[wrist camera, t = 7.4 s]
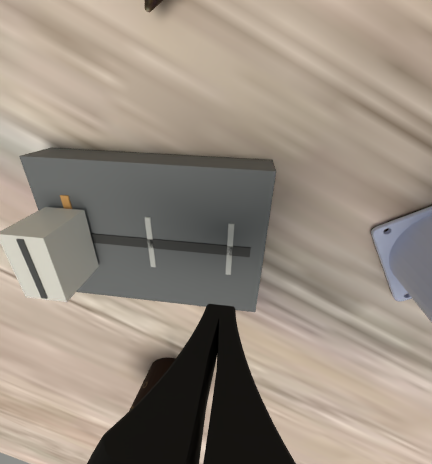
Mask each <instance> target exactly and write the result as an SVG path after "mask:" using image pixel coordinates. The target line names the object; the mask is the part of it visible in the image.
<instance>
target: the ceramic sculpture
mask: <svg viewBox="0 0 432 464" xmlns="http://www.w3.org/2000/svg"><path fill="white" fill-rule="evenodd" d="M162 1H163V0H145V10H146V11H147V12H151V11H152V10H153V9H154V8H155V7H156V6H157V5H158V4H160V3H161V2H162Z"/></svg>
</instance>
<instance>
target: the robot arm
mask: <svg viewBox="0 0 432 464" xmlns="http://www.w3.org/2000/svg"><path fill="white" fill-rule="evenodd" d="M387 228H389V229H388V231H386V232H384V230H385V229H387ZM371 235H372V238H373V241H374V244H375V247H376V250H377V253H378V255H379V258H380V261H381V264H382V267H383V270H384V273H385V276H386V278H387V281H388V284H389V287H390V290H391V293H392V296H393V297H394V299H395V300H396V301H404V300H408V299H412V298H413V300H414V301H415V302H416V303H417V305H418V306H419V307H420V308H421V310H422V311H423V312H424V313H425V315H426V316H427V317H428V318H429V320H430V321H431V322H432V206H431V207H428V208H425V209H423V210H420V211H417V212H414V213H412V214H409V215H406V216H404V217H401V218H398V219H395V220H393V221H390V222H387V223H385V224H382V225H379V226H377V227H375V228H373V229H372V231H371ZM407 293H408V294H407ZM405 294H406V295H405ZM216 357H217V372H216V379H215V387H214V394H213V401H212V408H211V415H210V422H209V429H208V436H207V443H206V450H205V456H204V463H203V464H296V463H295V462H294V460H293V458H292V456H291V455H290V453H289V451H288V450H287V448H286V446H285V444H284V442H283V441H282V439H281V437H280V435H279V433H278V431H277V429H276V427H275V426H274V424H273V422H272V420H271V418H270V416H269V413H268V411H267V409H266V407H265V405H264V403H263V401H262V399H261V397H260V394H259V392H258V390H257V387H256V385H255V382H254V380H253V377H252V375H251V372H250V369H249V367H248V364H247V361H246V358H245V355H244V351H243V348H242V344H241V341H240V337H239V333H238V328H237V322H236V314H235V307H234V306H226V305H217V304H208V305H207V307H206V309H205V312H204V314H203V316H202V318H201V320H200V322H199V324H198V326H197V327H196V329H195V331H194V332H193V334H192V336H191V337H190V339H189V341H188V342H187V344H186V345H185V347H184V348H183V350H182V351H181V352H180V354H179V355H178V357H177V358H176V359H175V361H174V362H173V363H172V365H171V366H170V367H169V368H168V370H167V371H166V372H165V373H164V375H163V376H162V377H161V378H160V379H159V380H158V382H157V383H156V384H155V385H154V386H153V387H152V388H151V390H150V391H149V392H148V393H147V394H146V395H145V396H144V397H143V398H142V399H141V400H140V401H139V402H138V403H137V404H136V405H135V406H134V407H133V408H132V409H131V410H130V411H129V412H128V413H127V414H126V415H125V416H124V417H123V418H122V419H121V420H119V421H118V422H117V423H116V424H115V425H114V426H113V427H112V428H111V429H110V430H108V431H107V432H106V433H105V434H104V435H103V437H102V438H101V440H100V442H99V443H98V445H97V447H96V448H95V450H94V452H93V454H92V455H91V457H90V459H89V461H88V463H87V464H199V459H200V451H201V443H202V435H203V427H204V420H205V412H206V406H207V400H208V395H209V391H210V386H211V381H212V376H213V372H214V367H215V362H216Z"/></svg>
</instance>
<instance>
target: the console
mask: <svg viewBox="0 0 432 464" xmlns="http://www.w3.org/2000/svg"><path fill="white" fill-rule="evenodd" d="M19 157H20V160H21V162H22V165H23V168H24V171H25V174H26V176H27V179H28V182H29V185H30V188H31V190H32V193H33V196H34V199H35V202H36V204H37V207H38V210H41V209H43V208H44V207H52V208H65V209H78V210H84V211H85V215H86V219H87V223H88V226H89V230H90V234H91V238H92V242H93V246H94V250H95V254H96V258H97V261H98V265H99V266H98V268H97V269H96V270H95V271H94V272H93V273H92V274H91V275H90V277H89V278H88V279H87V280H86V281H85V282H84V283H83V284H82V286H81V287H80V288H79V289H78V290H77V291H76V292H82V293H90V294H99V295H108V296H117V297H126V298H135V299H144V300H152V301H161V302H170V303H179V304H188V305H197V306H205V307H207V305H208V304H217V305H226V306H234V307H235V310H241V311H250V312H255V311H256V304H257V297H258V290H259V284H260V277H261V270H262V264H263V257H264V250H265V243H266V237H267V230H268V223H269V217H270V210H271V203H272V196H273V190H274V183H275V176H276V169H275V166H274V163H273V160H261V159H243V158H225V157H207V156H189V155H171V154H153V153H135V152H117V151H99V150H81V149H63V148H48V149H44V150H41V151H37V152H33V153H29V154H25V155H21V156H19Z"/></svg>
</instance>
